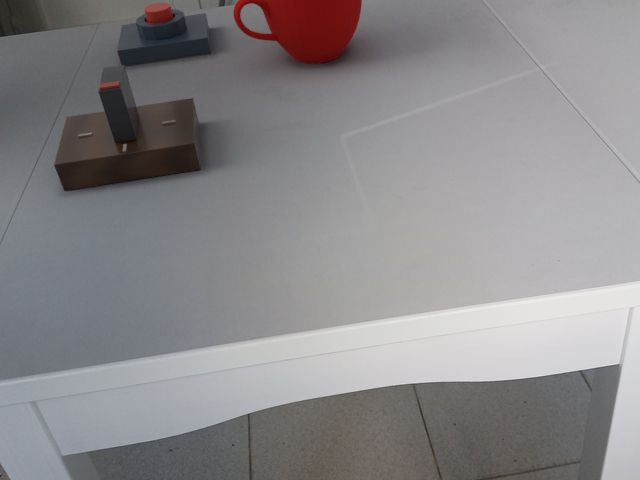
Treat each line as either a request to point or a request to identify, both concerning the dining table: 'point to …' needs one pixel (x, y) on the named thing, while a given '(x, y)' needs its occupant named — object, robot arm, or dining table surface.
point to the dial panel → (129, 146)
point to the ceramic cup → (306, 26)
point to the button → (158, 13)
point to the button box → (164, 39)
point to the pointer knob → (119, 103)
